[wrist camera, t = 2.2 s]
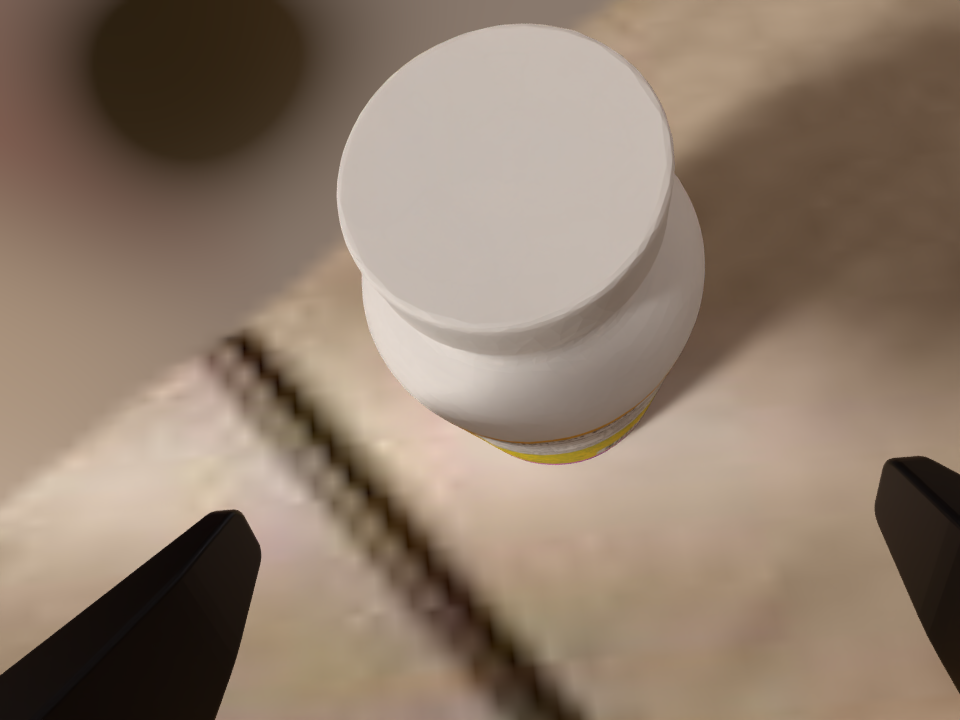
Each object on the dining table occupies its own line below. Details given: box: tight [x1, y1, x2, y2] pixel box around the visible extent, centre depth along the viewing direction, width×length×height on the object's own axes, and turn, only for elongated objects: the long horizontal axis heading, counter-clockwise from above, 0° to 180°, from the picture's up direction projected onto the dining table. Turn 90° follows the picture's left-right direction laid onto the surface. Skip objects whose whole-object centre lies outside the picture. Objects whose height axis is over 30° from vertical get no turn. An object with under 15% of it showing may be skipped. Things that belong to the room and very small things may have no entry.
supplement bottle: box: [337, 23, 705, 465], centre depth 14 cm, size 7×7×13 cm
